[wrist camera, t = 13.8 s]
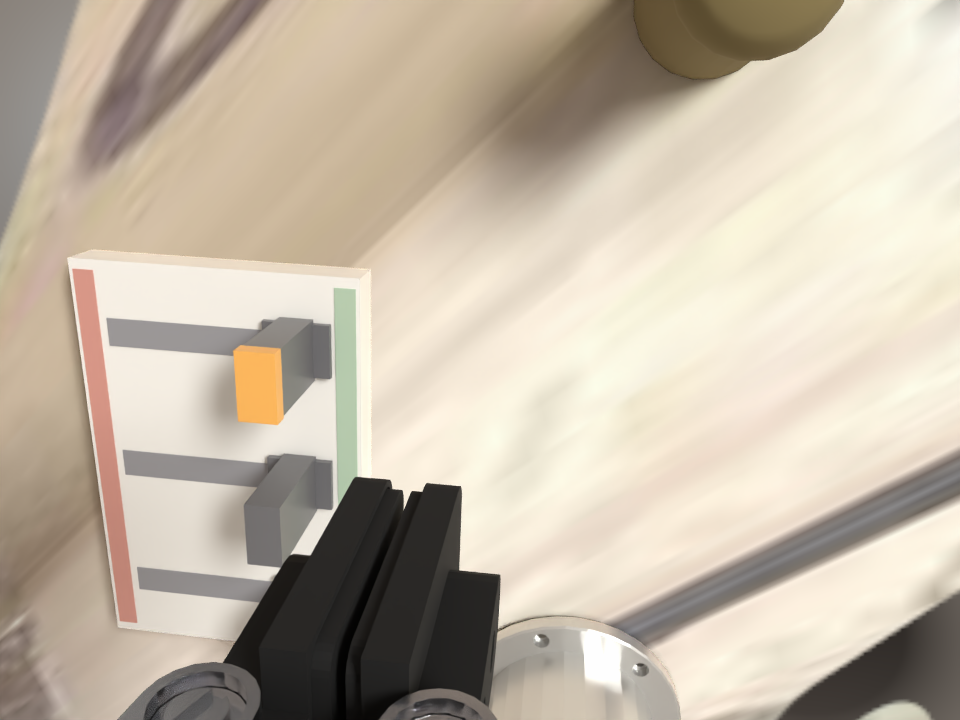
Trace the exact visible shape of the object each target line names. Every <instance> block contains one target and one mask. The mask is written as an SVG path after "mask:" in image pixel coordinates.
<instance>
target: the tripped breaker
mask: <svg viewBox="0 0 960 720" xmlns="http://www.w3.org/2000/svg"><path fill="white" fill-rule="evenodd" d="M261 324H262V331H261V332H259V333H258V334H257V335H256V336H254V337H253V338H252V339H250V340H249V341H248V342H247V343H245V344H244V345H240V346H239V347H237V348H236V349H235V350H233V354H234V369H235V384H236V400H237V415H238V422H248V423H259V424H270V425H278V424H279V423H280V422H281V421H282V420H283V419H284V415H285V414H286V413H287V412H288V411H289V409H290V408H291V407H292V406H293V405H294V404H295V403H296V401H297V400H298V399H299V398H300V397H301V396H302V395H303V394H304V392H305V391H306V390H307V389H308V388H309V387H310V386H311V384H312V383H313V382H314V381H315V378H320V379H331V378H332V346H331V324H320V323H313V319H300V318H287V317H279V318H277V319H276V320H268V319H263V320H262V321H261Z"/></svg>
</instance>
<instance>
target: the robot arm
mask: <svg viewBox="0 0 960 720" xmlns="http://www.w3.org/2000/svg"><path fill="white" fill-rule="evenodd" d="M461 504H462V490H461V486H452V485H441V484H430V483H426V485H425V487H424V489H423V492H417V491H412V492H411V494H410V496H409V499H408V501H407V504H406V506H405V509H404V511H403V508H404V498H403V491H402V490H395V489H392V484H391V481H390V480H386V479H375V478H364V477H355V478H354V479H353V480H352V482H351V484H350V486H349V487H348V489H347V491H346V493H345V495H344V496H343V498H342V500H341V502H340V503H339V505H338V507H337V509H336V511H335V512H334V514H333V516H332V518H331V519H330V521H329V523H328V525H327V527H326V528H325V530H324V532H323V534H322V536H321V537H320V539H319V541H318V543H317V544H316V546H315V548H314V550H313V552H312V553H311V555H301V554H292V555H289V557H288V558H287V559H286V560H285V562H284V563H283V565H282V567H281V568H280V570H279V571H278V573H277V575H276V576H275V578H274V580H273V581H272V583H271V585H270V586H269V588H268V590H267V591H266V593H265V595H264V596H263V598H262V599H261V601H260V603H259V604H258V606H257V608H256V609H255V611H254V613H253V614H252V616H251V618H250V619H249V621H248V622H247V624H246V626H245V627H244V629H243V631H242V632H241V634H240V636H239V637H238V639H237V641H236V642H235V644H234V645H233V647H232V649H231V650H230V652H229V654H228V655H227V657H226V659H225V660H224V662H223V663H217V662H210V663H201V664H193V665H190V666H187V667H184V668H181V669H177V670H175V671H173V672H171V673H169V674H167V675H165V676H164V677H162V678H160V679H158V680H157V681H155V682H154V683H153V684H152V685H151V686H150V687H148V688H147V689H146V690H145V691H144V692H143V693H142V694H141V695H140V696H139V697H138V698H137V699H136V700H135V701H134V702H133V703H132V704H131V705H130V707H129V708H128V709H127V710H126V711H125V712H124V713H123V714H122V715H121V716H120V717H119V718H118V719H117V720H681V716H680V707H679V702H678V697H677V693H676V689H675V685H674V683H673V681H672V679H671V677H670V675H669V673H668V671H667V669H666V668H665V667H664V666H663V664H662V663H661V662H660V661H659V659H658V658H657V657H656V656H655V654H654V653H652V652H651V651H650V650H649V649H648V648H647V647H645V646H644V645H643V644H642V643H641V642H640V641H638V640H637V639H635V638H633V637H631V636H630V635H628V634H626V633H625V632H623V631H621V630H619V629H617V628H614V627H611V626H609V625H606V624H603V623H601V622H597V621H593V620H588V619H583V618H578V617H559V616H553V617H544V618H535V619H530V620H527V621H524V622H520V623H517V624H513V625H511V626H509V627H507V628H505V629H503V630H501V631H499V632H497V631H498V617H499V600H500V575H498V574H488V573H478V572H468V571H459V558H460V531H461Z"/></svg>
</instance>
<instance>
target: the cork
mask: <svg viewBox="0 0 960 720" xmlns="http://www.w3.org/2000/svg"><path fill="white" fill-rule="evenodd" d="M843 2H844V0H634V20H635V23H636V27H637V31H638V35H639V38H640V41H641V42H642V44H643V45H644V47H645V48H646V50H647V51H648V53H649V54H650V56H651V57H652V59H653V60H655V61H656V62H657V63H659V64H660V65H661V66H663V67H664V68H665V69H667V70H668V71H669V72H671V73H674V74H677V75H680V76H683V77H686V78H690V79H716V78H718V77H721V76H724V75H727V74H729V73H732V72H735V71H738V70H739V69H741V68H742V67H743V66H745V65H746V64H747V63H749V62H750V61H757V60H770V59H773V58H776V57H778V56H781V55H784V54H787V53H790V52H792V51H795V50H797V49H799V48H800V47H801V46H803V45H804V44H805V43H807V42H808V41H810V40H811V39H812V38H814V37H815V36H816V35H818V34H819V33H820V32H822V30H823V29H824V28H825V27H826V25H827V24H828V23H829V22H830V20H831V19H832V18H833V16H834V15H835V14H836V13H837V11H838V10H839V9H840V8H841V6H842V4H843Z"/></svg>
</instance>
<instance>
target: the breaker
mask: <svg viewBox="0 0 960 720" xmlns="http://www.w3.org/2000/svg"><path fill="white" fill-rule="evenodd" d="M267 464H268V475H267V476H266V477H265V478H264V480H263V481H262V482H261V483H260V485H259V486H258V487H257V489H256V490H255V491H254V492H253V494H252V495H251V496H250V497H249V499H248V500H247V501H246V502H245V504H244V519H245V535H246V550H247V564H250V565H259V566H269V567H278V568H281V567H282V565H283V563H284V562H285V560H286V559H287V558H288V557H289V555H291V553H292V551H293V550H294V548H295V546H296V545H297V543H298V541H299V540H300V538H301V536H302V535H303V533H304V532H305V530H306V528H307V527H308V525H309V523H310V522H311V520H312V518H313V517H314V515H315V513H316V512H317V509H325V510H332V509H333V461H331V460H320V459H316V456H306V455H295V454H285V453H284V454H283V456H278V455H269V456H268V457H267Z"/></svg>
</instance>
